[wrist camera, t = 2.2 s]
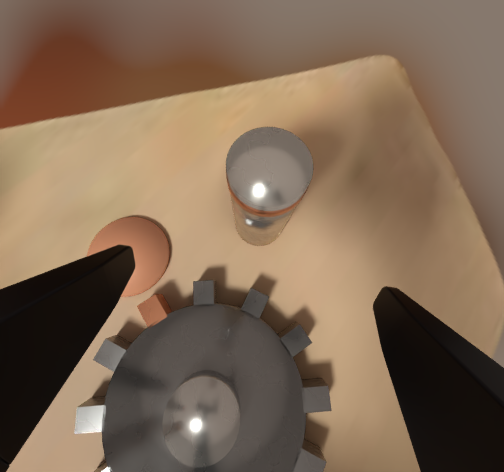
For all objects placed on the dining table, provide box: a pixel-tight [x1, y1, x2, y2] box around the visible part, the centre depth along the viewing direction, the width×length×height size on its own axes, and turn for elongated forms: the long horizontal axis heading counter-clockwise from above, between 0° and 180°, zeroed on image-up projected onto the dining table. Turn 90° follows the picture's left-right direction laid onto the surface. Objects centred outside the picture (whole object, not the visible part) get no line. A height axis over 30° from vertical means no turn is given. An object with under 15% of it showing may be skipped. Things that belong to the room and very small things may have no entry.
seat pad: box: [87, 217, 170, 297], centre depth 20 cm, size 7×7×1 cm
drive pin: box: [226, 127, 313, 246], centre depth 16 cm, size 4×4×10 cm
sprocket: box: [74, 280, 331, 472], centre depth 16 cm, size 18×18×3 cm
